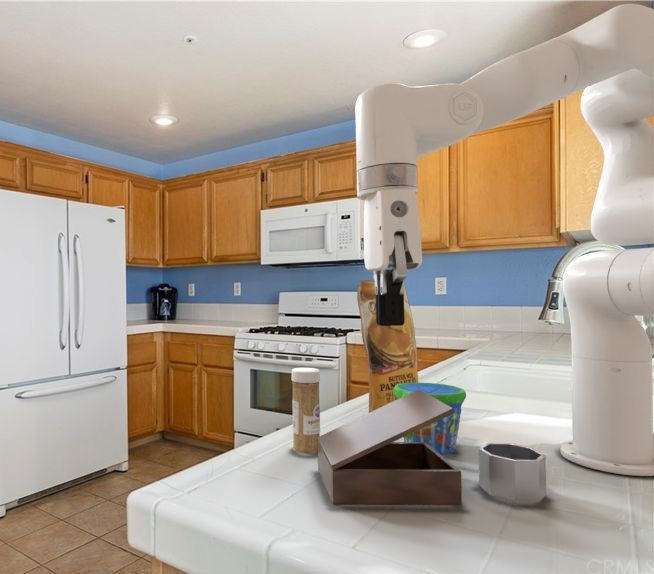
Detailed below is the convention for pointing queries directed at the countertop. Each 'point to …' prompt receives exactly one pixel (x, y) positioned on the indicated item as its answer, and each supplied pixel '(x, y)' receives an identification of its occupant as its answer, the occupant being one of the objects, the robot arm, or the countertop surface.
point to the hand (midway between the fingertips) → (390, 324)
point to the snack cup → (443, 430)
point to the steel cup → (512, 472)
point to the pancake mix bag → (386, 348)
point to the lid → (382, 427)
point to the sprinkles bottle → (306, 409)
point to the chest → (393, 477)
